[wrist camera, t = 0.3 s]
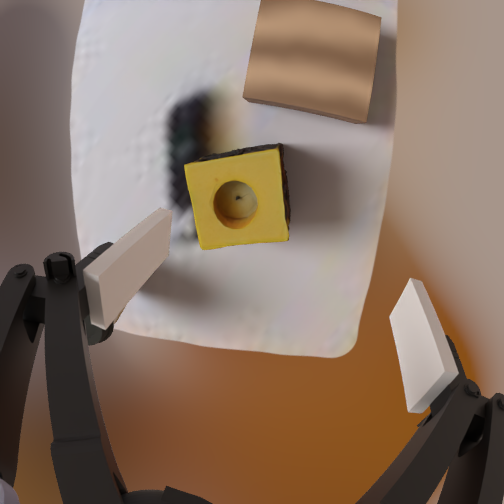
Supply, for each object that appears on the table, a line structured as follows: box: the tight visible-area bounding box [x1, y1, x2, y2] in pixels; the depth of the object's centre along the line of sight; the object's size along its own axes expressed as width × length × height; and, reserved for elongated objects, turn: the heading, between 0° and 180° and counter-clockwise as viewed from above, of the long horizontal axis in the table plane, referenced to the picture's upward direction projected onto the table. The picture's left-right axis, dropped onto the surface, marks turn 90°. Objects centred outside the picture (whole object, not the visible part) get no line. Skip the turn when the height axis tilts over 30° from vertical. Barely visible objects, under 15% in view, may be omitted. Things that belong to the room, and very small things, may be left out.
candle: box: [184, 143, 290, 250], centre depth 36 cm, size 10×10×10 cm
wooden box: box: [243, 0, 381, 124], centre depth 31 cm, size 14×14×6 cm
